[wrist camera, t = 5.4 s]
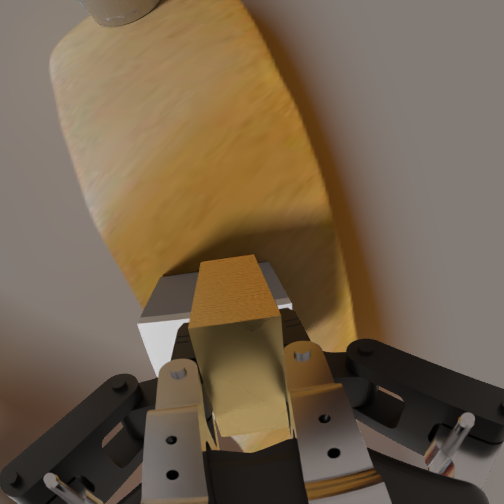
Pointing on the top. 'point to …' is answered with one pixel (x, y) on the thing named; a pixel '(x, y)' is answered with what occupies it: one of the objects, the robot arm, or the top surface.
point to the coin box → (183, 311)
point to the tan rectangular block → (239, 346)
